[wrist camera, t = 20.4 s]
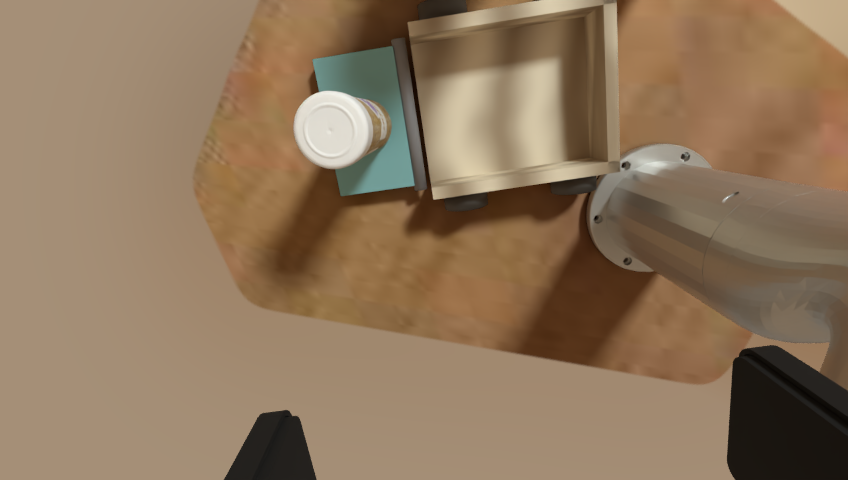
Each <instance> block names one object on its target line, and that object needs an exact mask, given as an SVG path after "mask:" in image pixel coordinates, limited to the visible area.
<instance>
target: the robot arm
mask: <svg viewBox="0 0 848 480" xmlns="http://www.w3.org/2000/svg"><path fill="white" fill-rule="evenodd" d="M681 155H682V157H681ZM622 163H624V166H623V167H621V165H622ZM596 183H597V189H596V190H594V191H592V192H591V194H590V197H589V201H588V206H587V226H588V231H589V234H590V236H591V239H592V241H593V243H594V244H595V246H596V247H597V249H598V250H599V251H600V252H601V253H602V254H603V255H604V256H605V257H606V258H607V259H609V260H610V261H611V262H613V263H614V264H616V265H618V266H620V267H622V268H624V269H628V270H632V271H637V272H653V271H656V272H657V273H659V274H660V275H662V276H663V277H665V278H666V279H668V280H669V281H671V282H672V283H674V284H676V285H677V286H679V287H680V288H682V289H683V290H685V291H686V292H688V293H689V294H691V295H692V296H694V297H695V298H697V299H699V300H700V301H702V302H703V303H705V304H706V305H708V306H709V307H711V308H712V309H714V310H715V311H717V312H718V313H720V314H722V315H723V316H725V317H726V318H728V319H730V320H731V321H733V322H734V323H736V324H737V325H739V326H741V327H742V328H744V329H746V330H748V331H750V332H752V333H754V334H757V335H760V336H762V337H766V338H769V339H774V340H778V341H783V342H791V343H826V342H830V344H829V348H828V351H827V354H826V356H825V359H824V362H823V364H822V367H821V370H820V373H819V372H818V371H816V370H815V369H813V368H812V367H810V366H808V365H807V364H805V363H803V362H802V361H801V360H799V359H797V358H796V357H794V356H793V355H791V354H789V353H788V352H786V351H785V350H783V349H782V348H780V347H778V346H773V345H770V346H762V347H755V348H747V349H744V350H742V351H741V352H740V354H739V357H737V358H735V359H734V361H733V371H732V387H731V403H730V420H729V435H728V452H727V463H728V467H729V469H730V472H731V474H732V475H733V477H734V478H735V480H848V192H846V191H839V190H833V189H827V188H822V187H816V186H810V185H802V184H796V183H790V182H784V181H779V180H773V179H767V178H761V177H756V176H750V175H744V174H738V173H733V172H727V171H721V170H715V169H712V167H711V165H710V164H709V163H708V162H707V161H706V160H705V159H704V158H703V157H702V156H701V155H699V154H698V153H696V152H694V151H693V150H691V149H688V148H685V147H683V146H679V145H673V144H650V145H644V146H641V147H638V148H635V149H632V150H630V151H629V152H627V153H625V154H623V155H621V156H620V172H616V173H610V174H603V175H600V177H599V178H598V180H597V181H596ZM596 215H597V218H596V219H595V220H594V217H595V216H596ZM625 258H626V259H625ZM624 259H625V260H624ZM623 260H624V261H623ZM224 480H316V476H315V472H314V469H313V465H312V462H311V458H310V454H309V451H308V447H307V443H306V440H305V436H304V432H303V429H302V425H301V421H300V419H299V417H297V416H292V415H291V413H290V412H289V411H288V410H284V411H276V412H269V413H262V414H260V416H259V417H258V418H257V420H256V422H255V424H254V426H253V428H252V429H251V431H250V433H249V435H248V437H247V439H246V440H245V442H244V444H243V446H242V448H241V450H240V452H239V453H238V455H237V457H236V459H235V461H234V463H233V465H232V466H231V468H230V470H229V472H228V474H227V475H226V477H225V479H224Z"/></svg>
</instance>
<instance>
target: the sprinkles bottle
mask: <svg viewBox="0 0 848 480" xmlns="http://www.w3.org/2000/svg"><path fill="white" fill-rule="evenodd" d="M391 129H392V123H391V119H390V116H389V114H388V112H387V111H386V109H385V108H384V107H383V106H382V105H381V104H380V103H378V102H375V101H373V100H368V99H361V98H356V97H352V96H350V95H348V94H346V93H342V92H337V91H322V92H318V93H315V94H313V95H311V96H310V97H308V98H307V99H306V100H305V101H304V102H303V103H302V104H301V105H300V107H299V108H298V110H297V112H296V115H295V119H294V137H295V140H296V143H297V145H298V147H299V149H300V151H301V152H302V153H303V155H304V156H305V157H306V158H307V159H308V160H309V161H311V162H312V163H314V164H316V165H318V166H320V167H323V168H327V169H341V168H345V167H348V166H350V165H352V164H354V163H356V162H357V161H359V160H360V159H362V158H363V157H364V156H366V155H368V154H370V153H372V152H373V151H375V150H377V149H379V148H381V147H382V146H383V145H385V144H386V142H387V141H388V139H389V137H390V134H391Z"/></svg>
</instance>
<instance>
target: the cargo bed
mask: <svg viewBox="0 0 848 480" xmlns="http://www.w3.org/2000/svg"><path fill="white" fill-rule="evenodd" d="M417 8H418V15H419V20H418V21H412V22H407V23H408V30H409V37H410V44H411V51H412V57H413V64H414V71H415V78H416V85H417V92H418V99H419V105H420V112H421V119H422V126H423V133H424V140H425V147H426V153H427V160H428V167H429V174H430V181H431V188H432V194H433V200H436V199H442V198H444V202H445V209H446V210H448V211H468V210H474V209H478V208H481V207H484V206H486V205H487V204H488V198H487V192H489V191H496V190H503V189H509V188H516V187H523V186H529V185H536V184H543V183H550V185H551V193H553V194H557V195H574V194H582V193H588V192H591V191H594V190H596V189H597V183H596V175H603V174H610V173H616V172H620V137H619V89H618V41H617V0H538V1H533V2H527V3H521V4H515V5H509V6H503V7H497V8H491V9H485V10H479V11H473V12H467V7H466V0H427V1H424V2H422V3H420V4H419V5H418V7H417Z"/></svg>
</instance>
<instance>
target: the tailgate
mask: <svg viewBox="0 0 848 480" xmlns="http://www.w3.org/2000/svg"><path fill="white" fill-rule="evenodd" d="M391 43H392V46H389V47H383V48H377V49H371V50H365V51H359V52H353V53H347V54H341V55H336V56H330V57H324V58H318V59H312V60H313V65H314V70H315V74H316V79H317V84H318V89H319V92H322V91H337V92H342V93H346V94H348V95H350V96H352V97H356V98H361V99H368V100H373V101H375V102H378V103H380V104H381V105H382V106H383V107H384V108H385V109H386V111H387V112H388V114H389V116H390V119H391V123H392V129H391V134H390V137H389V139H388V141H387V142H386V144H385V145H383V146H382V147H381V148H379V149H377V150H375V151H373V152H372V153H370V154H368V155H366V156H364V157H363V158H362V159H360V160H359V161H357V162H356V163H354V164H352V165H350V166H348V167H345V168H341V169H335V171H336V176H337V181H338V185H339V190H340V195H341V196H347V195H354V194H361V193H368V192H374V191H381V190H388V189H395V188H402V187H409V186H414V189H415V191H420V190H425V189H427V183H426V176H425V170H424V163H423V156H422V149H421V143H420V136H419V129H418V122H417V116H416V109H415V102H414V96H413V89H412V82H411V75H410V69H409V62H408V55H407V48H406V42H405V38H396V39H393V40H391Z"/></svg>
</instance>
